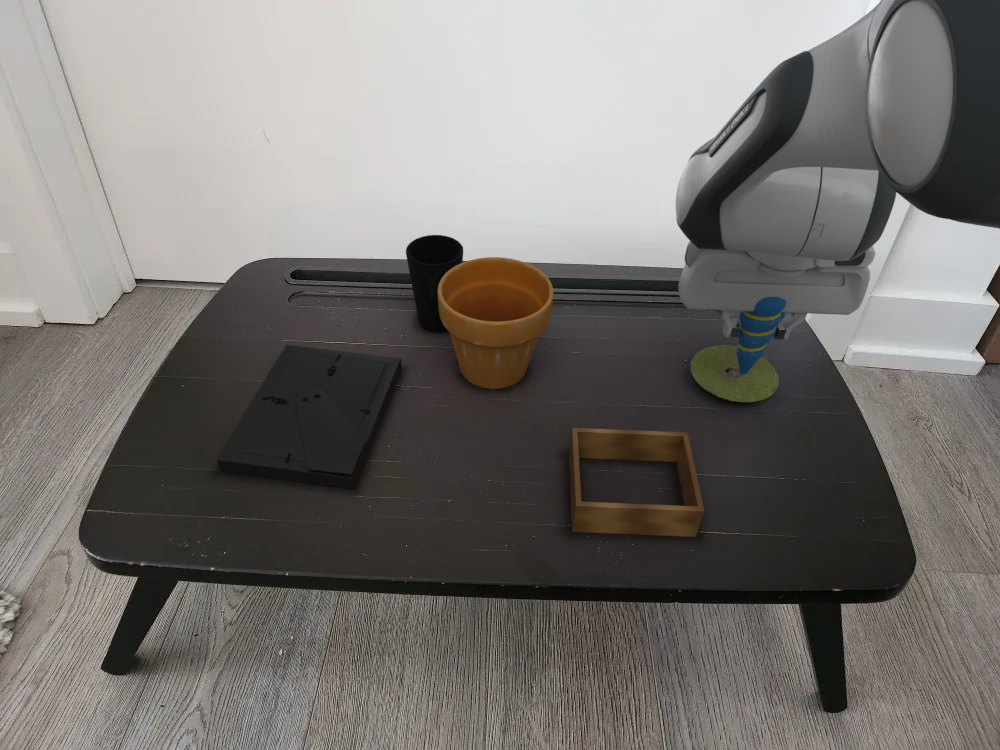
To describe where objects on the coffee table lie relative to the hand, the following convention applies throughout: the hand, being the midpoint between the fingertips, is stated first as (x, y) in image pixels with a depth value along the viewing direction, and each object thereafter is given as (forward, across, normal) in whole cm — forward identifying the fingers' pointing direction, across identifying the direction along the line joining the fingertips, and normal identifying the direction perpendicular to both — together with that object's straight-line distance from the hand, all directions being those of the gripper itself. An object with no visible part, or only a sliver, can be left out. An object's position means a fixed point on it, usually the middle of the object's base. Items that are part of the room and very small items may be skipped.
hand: (754, 335), depth 87 cm
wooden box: (+10, -15, -17) cm, 25 cm away
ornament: (+6, 0, 0) cm, 6 cm away
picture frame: (+10, -53, -7) cm, 54 cm away
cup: (+10, -40, +14) cm, 43 cm away
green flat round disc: (+10, 0, +3) cm, 11 cm away
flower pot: (+10, -32, +4) cm, 33 cm away
